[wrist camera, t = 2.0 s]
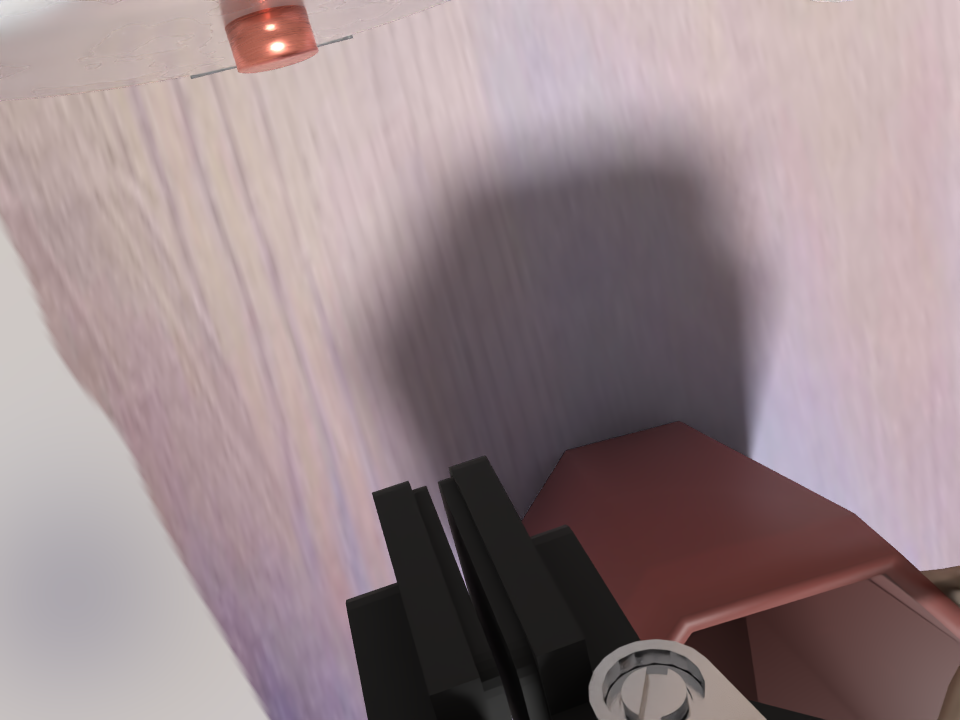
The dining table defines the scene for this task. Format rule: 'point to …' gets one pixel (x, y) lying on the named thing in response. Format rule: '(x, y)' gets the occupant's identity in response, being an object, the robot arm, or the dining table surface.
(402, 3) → the cooker lid
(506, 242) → the dining table surface
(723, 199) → the dining table surface
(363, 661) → the robot arm
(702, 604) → the bucket
